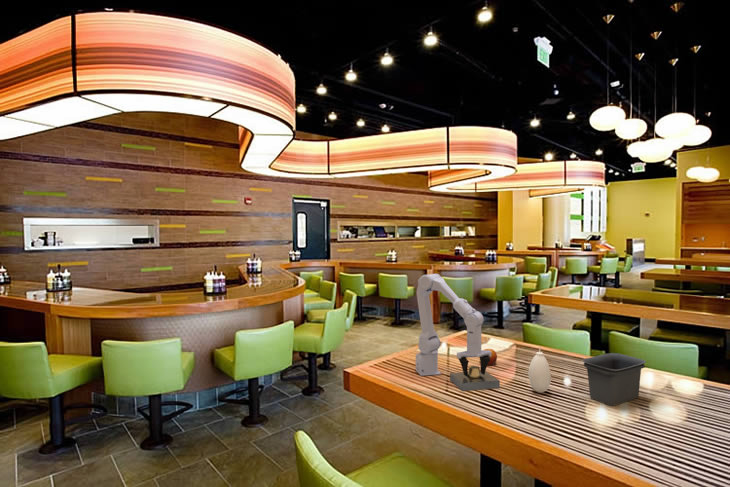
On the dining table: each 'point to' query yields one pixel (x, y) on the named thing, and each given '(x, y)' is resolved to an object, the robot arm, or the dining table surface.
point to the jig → (474, 381)
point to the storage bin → (614, 377)
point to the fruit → (492, 356)
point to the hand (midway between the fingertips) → (474, 374)
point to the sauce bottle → (539, 373)
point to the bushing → (474, 372)
